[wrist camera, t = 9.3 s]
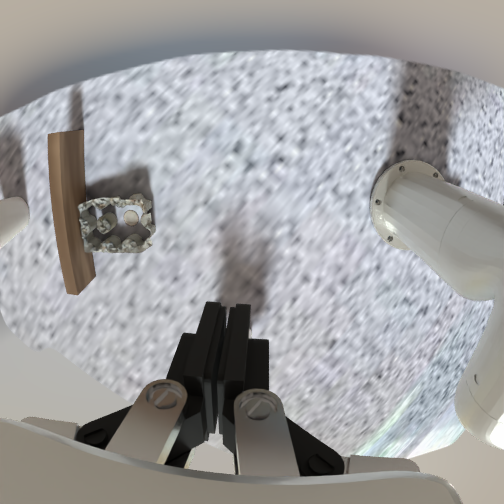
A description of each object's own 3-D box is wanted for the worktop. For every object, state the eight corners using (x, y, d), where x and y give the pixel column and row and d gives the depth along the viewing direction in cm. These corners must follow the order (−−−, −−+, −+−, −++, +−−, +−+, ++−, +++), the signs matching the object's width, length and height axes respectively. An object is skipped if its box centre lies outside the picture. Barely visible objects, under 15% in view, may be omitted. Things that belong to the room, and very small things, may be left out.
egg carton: (153, 190, 38) (143, 197, 35) (159, 244, 41) (150, 256, 37) (86, 195, 39) (71, 202, 35) (93, 244, 41) (80, 255, 38)
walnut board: (83, 129, 35) (59, 132, 29) (95, 276, 43) (77, 295, 38) (72, 131, 35) (47, 134, 29) (85, 275, 43) (67, 293, 38)
